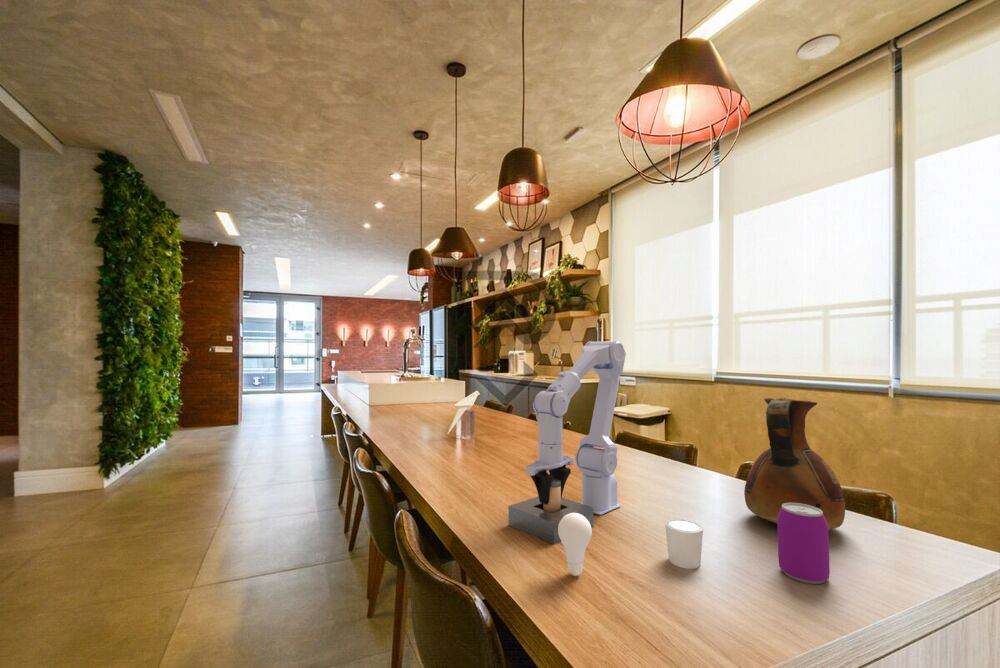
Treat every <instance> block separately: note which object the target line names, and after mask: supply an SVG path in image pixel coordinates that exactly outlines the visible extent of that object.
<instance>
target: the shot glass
mask: <svg viewBox="0 0 1000 668" xmlns="http://www.w3.org/2000/svg"><path fill="white" fill-rule="evenodd" d="M664 524H665V525H664V526H665V535H666V543H667V545H666V546H667V553H668V560H669V562H670V564H672V565H674V566H676V567H679V568H683V569H687V570H688V569H689V570H690V569H691V570H692V569H698V568H700V566H701V561H702V550H703V549H702V547H703V536H704V527H703V526H702V524H699V523H697V522H696V521H695V522H694V521H692V520H688V519H683V518H682V519H680V518H679V519H678V518H675V519H669V520H666V521H665V523H664Z"/></svg>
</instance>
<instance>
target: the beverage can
mask: <svg viewBox="0 0 1000 668" xmlns="http://www.w3.org/2000/svg"><path fill="white" fill-rule="evenodd" d="M777 521H778V524H777V548H778V549H777V550H778V553H777V554H778V555H777V557H778V566H779V568H780V570H781V571H782V572H783V573H784V574H785V575H786V576H787V577H789V578H791V579H793V580H795V581H798V582H801V583H804V584H810V585H819V584H823V583H825V582H826V581H829V579H830V574H831V571H830V568H831V567H830V546H829V545H830V543H829V542H830V540H829V539H830V538H829V530H828V524H827V521H826V519H825V517H824V515H823V512H822V510H820V509H819V508H816V507H814V506H810V505H806V504H801V503H784V504H782V507H781V510H780V512H779V514H778V517H777Z"/></svg>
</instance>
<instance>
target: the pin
mask: <svg viewBox="0 0 1000 668" xmlns="http://www.w3.org/2000/svg"><path fill="white" fill-rule="evenodd" d="M543 510H544V511H547V512H550V513H554V512H557V511H559V510H561V480H559V479H556V478H552V481H551V485H550V494H549V503H548V504H543Z"/></svg>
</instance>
